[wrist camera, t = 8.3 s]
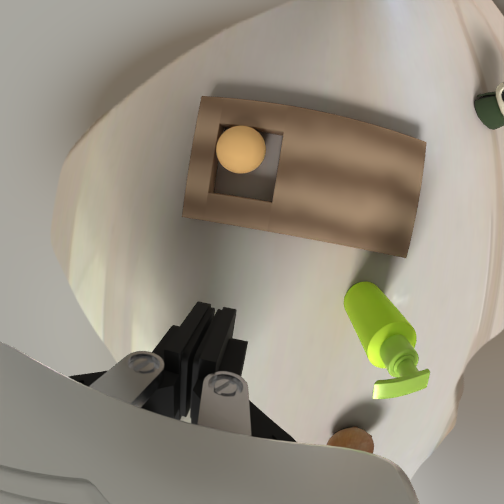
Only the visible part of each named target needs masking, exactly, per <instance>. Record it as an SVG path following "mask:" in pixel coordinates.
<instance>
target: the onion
mask: <svg viewBox="0 0 504 504" xmlns="http://www.w3.org/2000/svg"><path fill="white" fill-rule="evenodd" d="M327 445H328V446H336V447H345V448H350V449H355V450H361V451H365V452H368V453H372V454H373V450H374V443H373V440H372V436H371V435H370V434H368V433H367V432H366V431H364V430H363V429H359V428H358V427H357V426H354V427H352V428H346V429H343V430H340V431H338V432H337V433H335V434H334V435H333V436H332V437H331V438H330V439H329V441H328V443H327Z"/></svg>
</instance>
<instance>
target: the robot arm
mask: <svg viewBox="0 0 504 504" xmlns="http://www.w3.org/2000/svg"><path fill="white" fill-rule="evenodd" d="M214 313H215V308H211V304H207V303H203V302H197V303H196V305H195V306H194V307H193V309H192V310H191V312H190V313H189V315H188V316H187V317H186V319H185V320H184V322H183V323H182V324H181V326H180V327H179V326H175V325H173V326H172V327H171V328H170V329H169V330H168V332H167V333H166V334H165V336H164V337H163V338H162V340H161V341H160V342H159V344H158V345H157V346H156V348H155V349H154V350H153V352H152V353H151V352H147V351H137V352H133V353H130V354H129V355H127V356H126V357H124V358H123V359H122V360H121V361H120V362H118V363H117V364H116V365H115V366H113V367H112V368H111V369H110V370H109V371H103V372H97V373H90V374H82V375H74V376H70V377H66V376H65V375H63V374H61V373H59V372H57V371H55V370H53V369H51V368H49V367H48V366H46V365H44V364H42V363H40V362H39V361H37V360H35V359H33V358H32V357H30V356H27V355H26V354H24V353H23V352H21V351H19V350H17V349H15V348H13V347H11V346H9V345H7V344H4V343H2V342H0V504H420V503H419V501H418V498H417V496H416V493H415V490H414V488H413V486H412V484H411V482H410V480H409V478H408V477H407V475H406V474H405V472H404V471H403V470H402V469H401V468H400V467H399V466H398V465H397V464H395V463H394V462H392V461H391V460H388V459H386V458H384V457H381V456H379V455H375V454H372V453H368V452H365V451H361V450H355V449H350V448H345V447H336V446H328V445H316V444H306V443H298V442H296V441H295V440H294V439H293V438H292V437H291V436H290V435H289V434H288V433H286V432H285V431H284V430H283V429H281V428H280V427H279V426H278V425H277V424H276V423H274V422H273V421H272V420H271V419H270V418H269V417H267V416H266V415H265V414H264V413H263V412H262V411H261V410H260V409H258V408H257V407H256V406H255V405H254V404H253V403H252V402H251V401H250V400H249V391H248V385H247V382H246V381H245V380H244V379H243V378H242V377H241V375H242V370H243V365H244V360H245V355H246V349H247V344H248V341H243V340H238V339H233V338H232V336H233V329H234V323H235V317H236V309H232V308H227V307H223V309H222V310H220V309H218V310H217V312H216V314H215V316H214Z"/></svg>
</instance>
